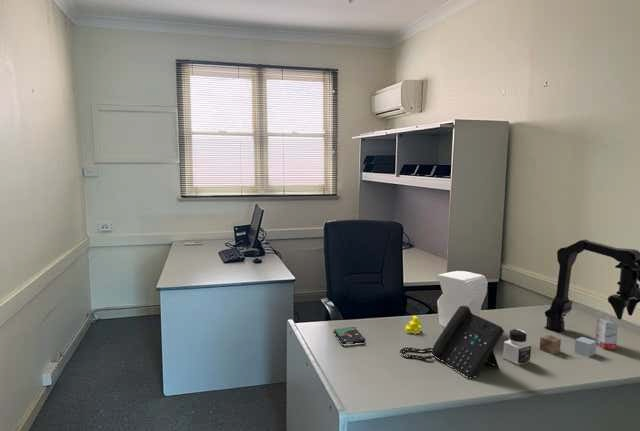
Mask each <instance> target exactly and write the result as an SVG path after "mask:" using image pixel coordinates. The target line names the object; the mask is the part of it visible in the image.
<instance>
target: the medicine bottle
mask: <svg viewBox="0 0 640 431" xmlns="http://www.w3.org/2000/svg"><path fill="white" fill-rule="evenodd" d="M531 352H532V345H531V344H530V343H528V342H527V332H526V331H524V330H522V329H519V328H517V329H516V328H515V329H511V330H510V331H509V339H508V340H505V341H503V356H502V358H503V359H504V358H505V360H506V359H507V360H506V361H508V360H509V361H508V362H510V361H511V362H510V363H512V362H513V364H514V363H515V365H516V364H517V365H516V366H521V365H524V364H527V363H530V362H531V355H532V354H531ZM523 363H524V364H523ZM520 364H521V365H520Z"/></svg>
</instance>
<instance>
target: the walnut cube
mask: <svg viewBox="0 0 640 431" xmlns="http://www.w3.org/2000/svg"><path fill="white" fill-rule="evenodd" d="M561 341H562V338H559V337H557V336H553V335H550V334H546V335H543V336H540V338H539V350H540V351H543V353H544V352H545V353H547V354H549V355H555V354H557V353H560V352H561V345H562V344H561Z"/></svg>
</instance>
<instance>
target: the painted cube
mask: <svg viewBox="0 0 640 431" xmlns="http://www.w3.org/2000/svg"><path fill="white" fill-rule="evenodd" d="M596 350H597V342H596V341H595V340H594V339H590V338H587V337H584V336H581V337H578V338H576V339H575V341H574V353H575V354H578V355H581V356H584V357H587V358H590V357H591V356H595V355H596Z"/></svg>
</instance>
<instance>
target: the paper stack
mask: <svg viewBox="0 0 640 431" xmlns="http://www.w3.org/2000/svg"><path fill="white" fill-rule="evenodd" d="M435 276H436V277H437V279H438V282H439V284H440V288H441V291H442V292H441V293H442V294H441V296H439V298H438V299H437V300H436V301H437V313H438V314H437V315H438V322H439V325H440V324H441V325H442V326H443V327H446V326H447V324H448V323H449V321H450V320H451V318H452V317H453V315H454V314H455V313H456V311H457V310H458V308H459V307H460V306H467V307H469V309H470V311H471V313H472V314H473V315H476V316H478V317H481V311H482V305H483V303H484V300H485V298H486V296H487V293H488V283H489V282H488V281H487V278H486V276H485V275H484V274H480V273H475V272H472V271H465V270H455V271H449V272H444V273H439V274H436V275H435ZM441 325H440V326H441ZM442 326H441V327H442ZM443 327H442V328H443Z"/></svg>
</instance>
